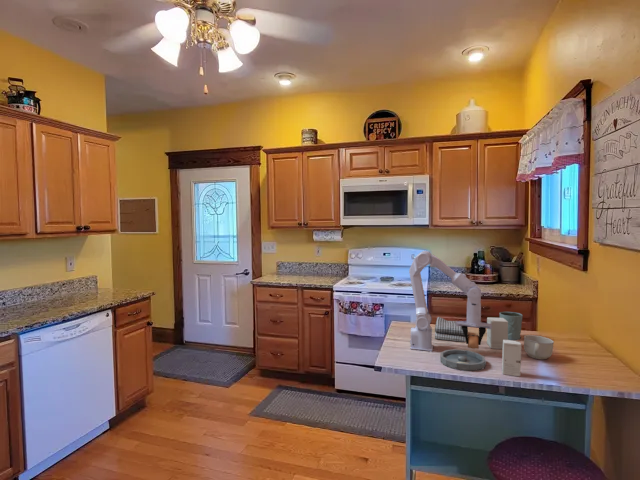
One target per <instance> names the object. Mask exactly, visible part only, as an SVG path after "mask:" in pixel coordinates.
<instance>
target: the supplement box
mask: <svg viewBox="0 0 640 480" xmlns="http://www.w3.org/2000/svg"><path fill="white" fill-rule="evenodd" d="M486 323H489V324H492V329H488V328H486V344H487V345H488V346H489V348H490V349H495V350H497V349H498V350H503V340H508V321H506V320H505V319H504V318H500V317H487V318H486Z"/></svg>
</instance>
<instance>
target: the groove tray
mask: <svg viewBox="0 0 640 480" xmlns="http://www.w3.org/2000/svg"><path fill="white" fill-rule="evenodd" d="M439 354H440V358H439V359H440V361H439V362H440V363H441V364H442V365H443V366H445V367H447V368H450V369H452V370H457V371H464V372H473V371H474V372H475V371H481V370H483V369H485V367H486V363H487V362H486V357H485V356H484V355H483V354H480V353H479V352H476V351H471V350H469V349H467V350H466V349H457V348H456V349H455V348H454V349H453V348H452V349H445V350H443V351H441V352H440V353H439Z"/></svg>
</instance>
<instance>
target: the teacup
mask: <svg viewBox="0 0 640 480" xmlns="http://www.w3.org/2000/svg"><path fill="white" fill-rule="evenodd" d="M523 340H524V341H523V349H524V352H525V353H526V354H527V355H528V356H529V357H530V358H533V359H538V360H546V359H548V358H550V357H551V356H552V354H553V352H554V351H553V349H554V343H555V341H554V340H552V339H551V338H548V337H545V336H541V335H534V334H527V335H524V336H523Z"/></svg>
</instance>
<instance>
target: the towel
mask: <svg viewBox="0 0 640 480" xmlns="http://www.w3.org/2000/svg"><path fill="white" fill-rule="evenodd" d="M456 321H457V320H447V319H445V318H444V317H440V316H438V317H436V322H435V325H434V326H435V327H434V338H435V340H436V339H437V340H443V341H444V340H445V341H452V342H453V341H454V342H458V343H459V342H464V343H466V339H465V335H464V333H463V330H462V327H461V326H456Z"/></svg>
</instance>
